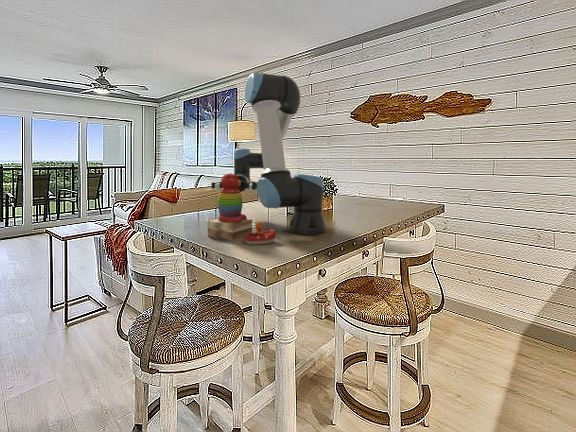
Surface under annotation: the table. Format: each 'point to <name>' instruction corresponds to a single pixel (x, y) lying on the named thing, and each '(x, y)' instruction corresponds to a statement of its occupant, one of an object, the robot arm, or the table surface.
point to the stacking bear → (230, 200)
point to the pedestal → (229, 229)
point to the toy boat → (260, 236)
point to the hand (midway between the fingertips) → (233, 187)
